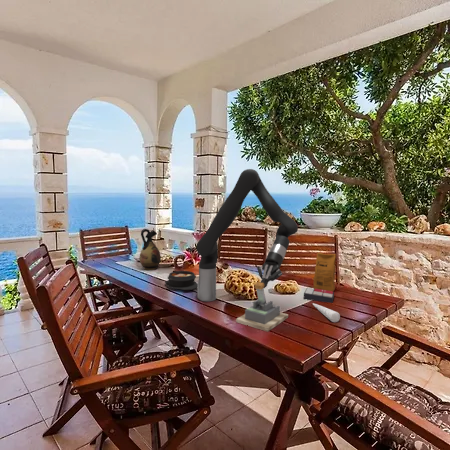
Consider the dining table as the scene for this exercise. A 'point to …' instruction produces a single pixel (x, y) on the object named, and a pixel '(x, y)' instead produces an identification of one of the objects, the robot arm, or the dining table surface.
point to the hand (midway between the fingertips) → (262, 287)
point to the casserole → (181, 280)
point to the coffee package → (325, 272)
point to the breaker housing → (262, 312)
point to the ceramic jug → (149, 252)
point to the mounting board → (264, 327)
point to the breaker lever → (260, 293)
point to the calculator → (319, 295)
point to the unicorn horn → (328, 313)
